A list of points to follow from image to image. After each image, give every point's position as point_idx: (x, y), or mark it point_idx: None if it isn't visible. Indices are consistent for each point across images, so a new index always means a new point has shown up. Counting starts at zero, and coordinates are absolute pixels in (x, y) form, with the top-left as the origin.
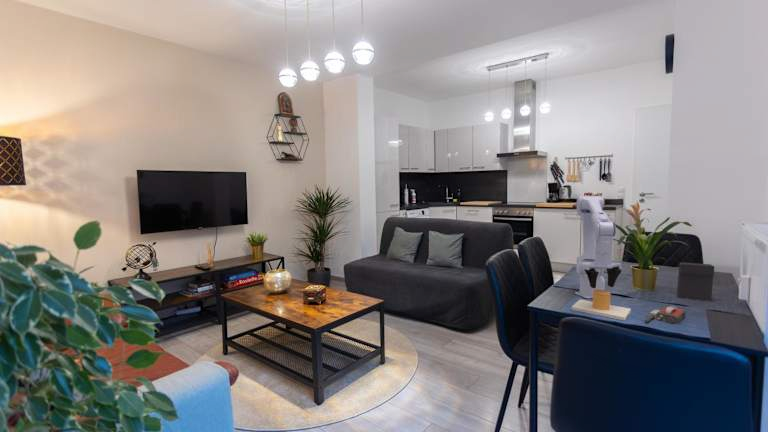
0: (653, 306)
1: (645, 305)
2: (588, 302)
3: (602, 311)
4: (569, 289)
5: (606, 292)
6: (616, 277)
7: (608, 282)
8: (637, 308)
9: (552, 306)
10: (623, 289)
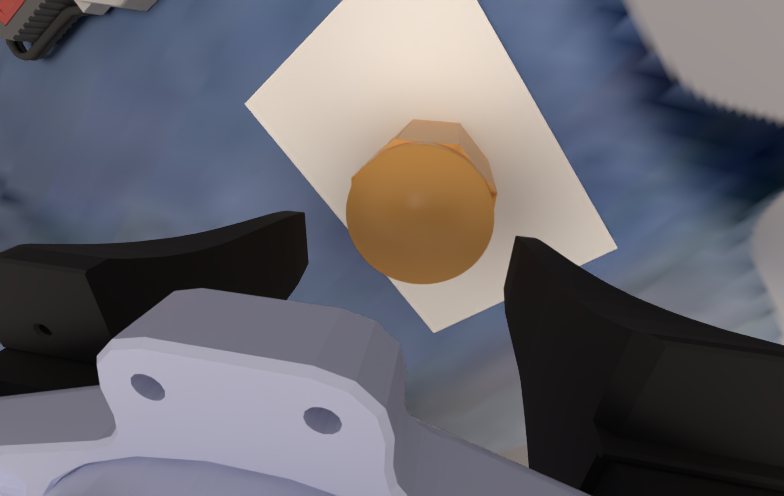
0: (76, 154)
1: (112, 180)
2: None
3: (485, 103)
4: None
5: (396, 182)
6: (190, 237)
7: (292, 281)
8: (180, 148)
9: None
10: None
